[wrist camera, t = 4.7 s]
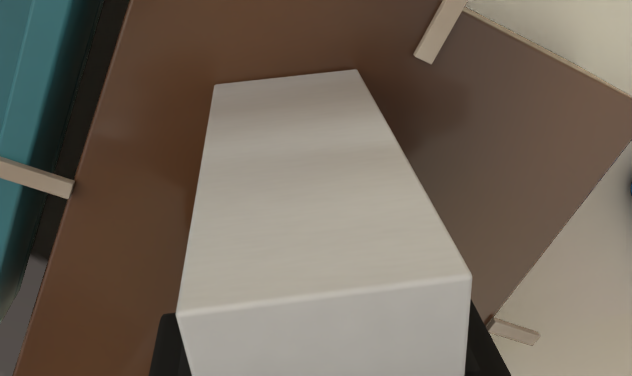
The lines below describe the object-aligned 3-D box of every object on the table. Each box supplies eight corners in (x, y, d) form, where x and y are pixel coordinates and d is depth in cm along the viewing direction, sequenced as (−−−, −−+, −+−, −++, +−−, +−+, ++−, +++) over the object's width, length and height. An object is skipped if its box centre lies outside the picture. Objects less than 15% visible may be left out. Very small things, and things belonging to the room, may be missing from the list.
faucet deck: (-7, 304, 15) (-63, 396, 13) (127, -193, 10) (83, -219, 8) (386, 403, 19) (409, 491, 16) (628, 75, 14) (720, 123, 11)
